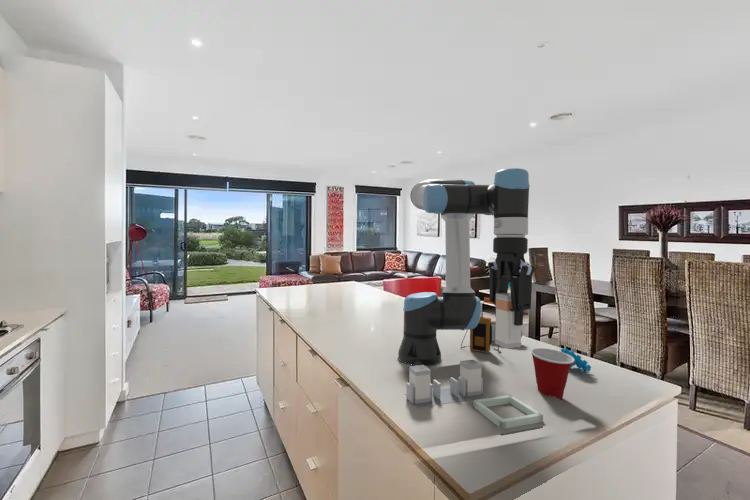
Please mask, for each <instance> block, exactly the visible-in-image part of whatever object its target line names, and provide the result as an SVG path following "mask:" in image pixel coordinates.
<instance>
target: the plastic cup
mask: <svg viewBox="0 0 750 500" xmlns="http://www.w3.org/2000/svg"><path fill="white" fill-rule="evenodd" d="M530 352H531V353H530V354H531V355H532V360H533V361H532V362H533V367H534V374H535V383H536V386H537V391H538V392H539V393H540V394H542V395H544V396H545V395H546V396H548V397H555V398H557V399H559V400H560V401H561V400H562V399H563V397H564V393H565V389H566V385H567V382H568V381H567V380H568V377H569V372H570V371H571V369H570V367H571V365H572V363H573V362H574V361H575V359H574V358H573V357H572V356H570V355H568V354H566V353H563V352H561V350H560V351H559V350H558V349H557V350H556V349H551V348H546V347H545V348H544V347H535V348H534V347H533V348H532V349H530ZM571 368H572V367H571Z"/></svg>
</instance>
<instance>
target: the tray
mask: <svg viewBox="0 0 750 500" xmlns="http://www.w3.org/2000/svg"><path fill="white" fill-rule="evenodd" d="M472 401H473V403H472V407H473V408H474V409H476V410H477V411H478V412H480V413H481V415H483V416H484V417H486V418H487V419H488V420H489V421H491V422H493V424H495V425H496V426H498V427H499V428H500V429H501V430H505V429H511V428H516V427H520V426H521V427H522V426H527V425H533V424H537V423H543V422H544V414H543V413H540V412H539V411H538V410H536V409H534V408H533V407H531V406H530V405H528V404H526V403H524V402H523V401H521V400H520V399H518V398H516V397H514V396H513V395H511V394H507V395H501V396H496V397H495V396H494V397H487V398H480V399H473V400H472ZM507 404H511V405H512V406H514V407H515V408H517V409H518V410H519V411H521V412H523V413H524V414H525V415H520V416H515V417H510V418H509V417H508V418H502V417H501V416H500V415H498V414H497V413H495V412H494V411H492V410H491V409H489V408H488V407H493V406H500V405H507ZM543 427H544V426H543V425H540V426H535V427H529V428H525V429H519V430H514V431H513V430H512V431H508V432H503V433H499V435H501V436H502V437H503V436H507V435H514V434H517V433H519V434H520V433H524V432H529V431H533V430H539V429H543Z"/></svg>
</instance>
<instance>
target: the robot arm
mask: <svg viewBox="0 0 750 500" xmlns="http://www.w3.org/2000/svg"><path fill="white" fill-rule="evenodd" d="M529 178H530V177H529V172H528V170H526V169H524V168H518V167H517V168H504V169H500V170H497V171H496V172H495V173H494V180H493V184H476V183H475V182H474V181H473V180H466V179H426V180H423V181H420V182H418V183H416V184H415V185H414V186H413V188H412V189H411V191H410V201H411V203H412V204H413V206H414V207H415V208H416V209H419V210H422V211H425V213H428V214H434V215H440V218H441V219H442V220H443V221H444V223H445V226H444V227H445V237H444V238H445V288H443V290H442V291H441V296H438V294H437V292H432V291H429V292H428V291H423V292H422V291H421V292H416V293H410V294H408V295H407V296H406V297H405V298H404V301H403V337H402V340H401V343H400V346H399V348H398V353H397V354H398V357H397V359H398V360H399V359H400V360H401V361H400V360H399V361H400V362H402V361H403V362H402V363H404V362H406V363H405V364H407V363H409V365H410V364H415V362H416V361H420V362H421V363H422V365H425V366H432V365H433V366H434V365H437V364H439V363H440V362H441V361H442V353H441V349H440V347H439V342H438V339H437V331H438V330H439V331H441V330H443V331H446V330H448V331H449V330H450V331H452V330H453V331H455V330H457V331H459V330H460V331H465V330H466V331H467V330H468V331H470V329H474V328H475V327H476V326H477V325H478V323H479V320H480V317H481V313H482V304H481V299H480V297H478V296H476V292H475V290H474V289H472V287H471V249H470V248H471V247H470V246H471V244H470V243H471V242H470V221H471V220H472V219H473V218H474V215H485V216H493V235H494V236H495V237H494V238H492V239H493V243H492V251H493V253H494V254H496V257H495V260H494V261H489V262H488V263H487V267H488V270H489V301H490V303H492V302H493V303H494V304H493V303H492V304H493V305H494V307H495V306H496V293H509V292H508V291H509V289H510V293H511V300H512V308H513V309H510V326H509V339H511V340H515V339H521V340H522V338H521V330H522V326H523V325H524V324H523V323H524V311H527V310H528V311H529V310H531V308H532V291H533V290H532V287H533V274H534V273H535V266H534V265H529V264H527V263H526V259H525V254H527V253H528V249H529V248H528V245H529V244H528V241H529V239H528V238H527V237H526V236H527V235H529V204H530V203H529V199H530V197H529V196H530V195H529V194H530V187H531V186H530V180H529ZM495 318H496V315H495Z"/></svg>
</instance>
